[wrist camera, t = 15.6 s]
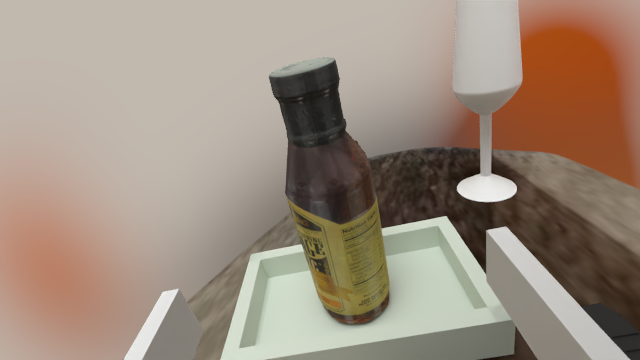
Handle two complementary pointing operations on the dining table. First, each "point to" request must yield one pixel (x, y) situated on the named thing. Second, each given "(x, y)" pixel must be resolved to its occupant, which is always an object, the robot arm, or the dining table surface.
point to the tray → (392, 323)
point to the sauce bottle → (331, 194)
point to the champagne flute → (486, 80)
